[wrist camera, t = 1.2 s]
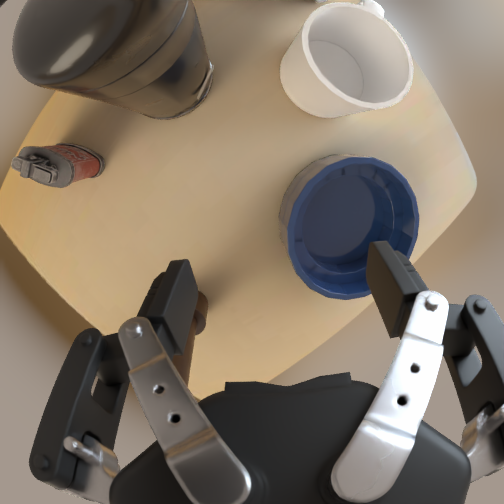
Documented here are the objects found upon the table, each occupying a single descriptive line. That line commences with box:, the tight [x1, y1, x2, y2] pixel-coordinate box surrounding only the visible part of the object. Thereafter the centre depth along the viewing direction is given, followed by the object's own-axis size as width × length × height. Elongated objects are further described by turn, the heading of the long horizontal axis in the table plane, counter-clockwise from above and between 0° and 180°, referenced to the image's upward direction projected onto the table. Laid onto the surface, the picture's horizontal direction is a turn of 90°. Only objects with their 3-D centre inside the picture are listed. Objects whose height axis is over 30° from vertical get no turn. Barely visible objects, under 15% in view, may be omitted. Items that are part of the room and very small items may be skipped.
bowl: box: [279, 155, 419, 300], centre depth 28 cm, size 15×15×6 cm
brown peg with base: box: [172, 291, 208, 387], centre depth 27 cm, size 4×4×14 cm
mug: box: [279, 0, 414, 118], centre depth 19 cm, size 13×10×10 cm
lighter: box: [11, 143, 105, 188], centre depth 21 cm, size 8×3×10 cm, turn 66°
